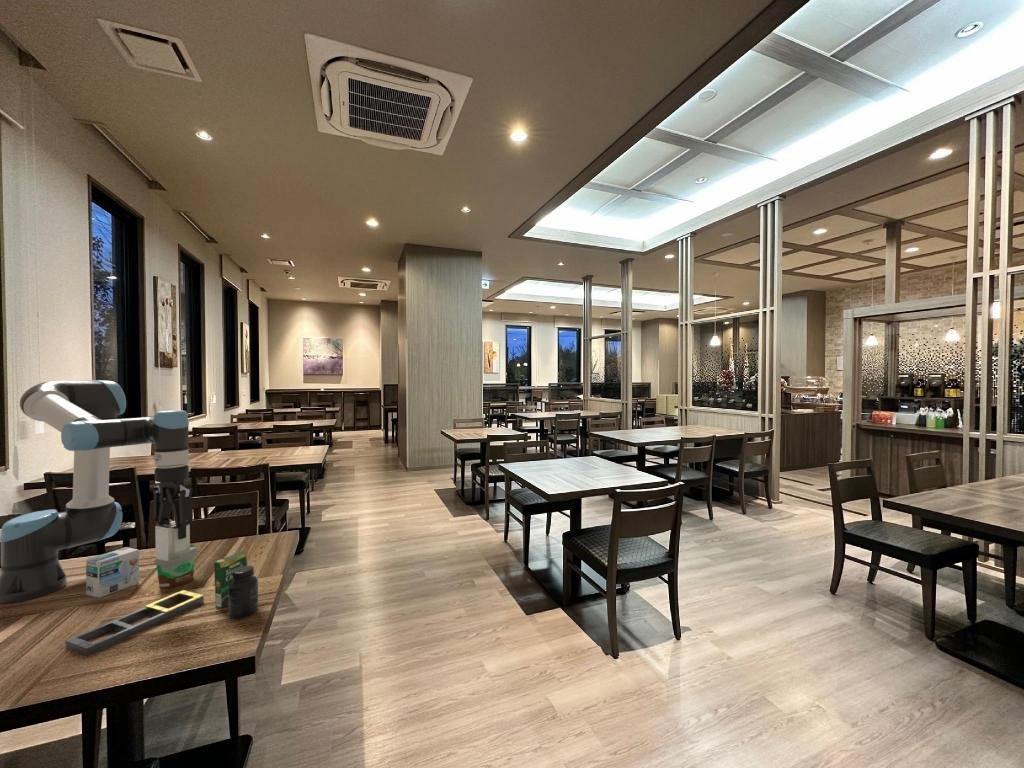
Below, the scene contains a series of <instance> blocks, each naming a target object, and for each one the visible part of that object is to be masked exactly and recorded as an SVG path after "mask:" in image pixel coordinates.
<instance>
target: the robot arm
mask: <svg viewBox="0 0 1024 768" xmlns="http://www.w3.org/2000/svg"><path fill="white" fill-rule="evenodd" d="M126 399H127V398H126V395H125V392H124V390H123V388H122V387H121V385H120V384H119V383H117V382H115V381H112V380H100V379H97V380H95V379H92V380H91V379H88V380H86V379H85V380H84V379H83V380H79V379H78V380H62V379H61V380H60V379H59V380H48V381H45V382H44V381H43V382H41V383H38V384H35V385H33V386H32V387H30V388H29V389H27V390H26V391H24V393H23V394H22V396H20V399H19V407H20V410H21V411H22V413H23V414H24V415H25V416H26V417H28V418H30V419H31V420H34V421H37V422H44V423H45V424H47V425H49V426H50V427H51V428H53V429H55V430H57V431H58V432H60V433H61V434H60V438H61V440H60V441H61V443H62V445H63V448H64V449H65V450H67V451H70V452H73V475H72V476H73V478H72V499H71V500H69V501H68V502H67V503H66V504H65V511H62V512H58V510H57V509H45V510H38V511H34V512H33V511H32V512H29V513H25V514H22V515H20V516H16V517H14V518H11V519H9V520H7V521H6V522H4V523H3V525H2V526H1V528H0V529H1V530H0V567H1V568H0V570H1V572H0V604H1V603H2V605H4V604H12V603H18V602H23V601H24V602H25V601H28V600H33V599H35V598H39V597H42V596H45V595H48V594H50V593H54V592H55V591H58V590H60V589H62V588H63V587H64V586H66V585H67V574H66V572H65V571H64V569H63V566H62V564H61V562H60V561H59V551H62V550H65V549H66V550H67V549H69V548H73V547H74V548H75V547H78V546H82V545H86V544H90V543H94V542H99V541H100V542H101V540H105V539H108V538H110V537H111V538H112V536H115V535H116V533H117V532H118V531H119V530H120V528H121V525H122V521H123V511H122V506H121V505H120V503H119V502H116V501H115V498H114V497H113V496H111V495H110V494H109V492H110V490H109V489H110V487H109V486H110V461H111V460H110V458H111V448H116V447H124V446H125V447H126V446H137V445H146V444H153V446H154V447H153V448H154V451H153V452H154V456H153V460H154V466H155V469H154V481H155V482H156V483H159V484H158V486H152V494H153V512H152V513H153V515H152V516H153V518H152V519H153V522H154V523H156V522H157V525H161V524H164V523H168V522H172V521H173V519H171V515H172V512H173V518H174V521H175V524H176V526H175V527H173V529H174V552H178V551H181V550H184V549H186V526H187V525H189V524H190V525H191V524H193V507H192V495H193V488H186V485H185V480H186V479H188V478H189V476H190V467H189V465H188V463H189V462H190V456H189V455H190V453H189V452H190V450H189V425H190V422H189V417H188V414H189V413H188V411H186V410H182V409H180V410H174V409H173V410H159V411H156V412H155V413H154V414H153V415H152V416H151V415H150V416H141V417H130V418H129V417H128V418H118V416H120V415H123V414H124V413H126V412H125V411H126V409H127V400H126Z"/></svg>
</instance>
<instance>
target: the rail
mask: <svg viewBox="0 0 1024 768" xmlns="http://www.w3.org/2000/svg"><path fill="white" fill-rule="evenodd" d="M204 597H205V595H203V594H199V593H196V592H193V591H188V590H185V589H182V590H179V591H178V592H175V593H172V594H170V595H168V596H165V597H163V598H160V599H159V600H155V601H154V602H151V603H149V604H147V605H145V606H144V607H142V608H139V609H137V610H135V611H132V612H130V613H127V614H125V615H122V616H121V617H118V618H115V619H113V620H111V621H108V622H106V623H103V624H101V625H98V626H97V627H94V628H91V629H89V630H86V631H84V632H83V633H80V634H77V635H75V636H73V637H70V638H68V639H66V640H65V641H64V642H65V646H64V647H65V649H67V650H70V651H71V652H75V653H77V654H79V655H83V656H85V657H88V656H91V655H93V654H95V653H96V652H99V651H102V650H104V649H106V648H108V647H110V646H112V645H115V644H117V643H119V642H121V641H123V640H125V639H127V638H130V637H132V636H133V635H137V634H138V633H141V632H143V631H145V630H148V629H149V628H151V627H153V626H156V625H158V624H160V623H162V622H164V621H167V620H169V619H170V618H173V617H175V616H178V615H179V614H182V613H184V612H186V611H188V610H191V609H193V608H195V607H197V606H199V605H202V604H203V603H205V601H204V599H205V598H204ZM177 602H181V603H179V604H177V605H175V606H171V607H170V608H166V607H168V606H170V605H173V604H174V603H177ZM147 615H149V616H152V617H150V618H147V619H145V620H143V621H140V622H139V623H136V624H134V625H132V624H129V623H132V622H133V621H135V620H139V619H140V618H142V617H145V616H147ZM110 631H114V632H115V633H113V634H111V635H109V636H106V637H105V638H104V637H103V638H102V639H100V640H97V641H95V642H93V643H92V642H90V641H89V640H92V639H94V638H97V637H99V636H101V635H103V634H106V633H108V632H110Z"/></svg>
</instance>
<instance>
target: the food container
mask: <svg viewBox="0 0 1024 768" xmlns="http://www.w3.org/2000/svg"><path fill="white" fill-rule="evenodd" d="M198 552H199V551H198V548H197V546H196V545H195V544H192V543H190V554H188V555H185V556H182V557H179V558H177V559H174V560H171V561H164V560H160V559H156V558H155V559H154V566H156V572H157V579H158V587H159V590H169V589H175V588H178V587H181V586H184V585H187V584H189V583H190V582H192V581H193V579H194V572H195V571H194V570H195V561H196V555H198Z"/></svg>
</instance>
